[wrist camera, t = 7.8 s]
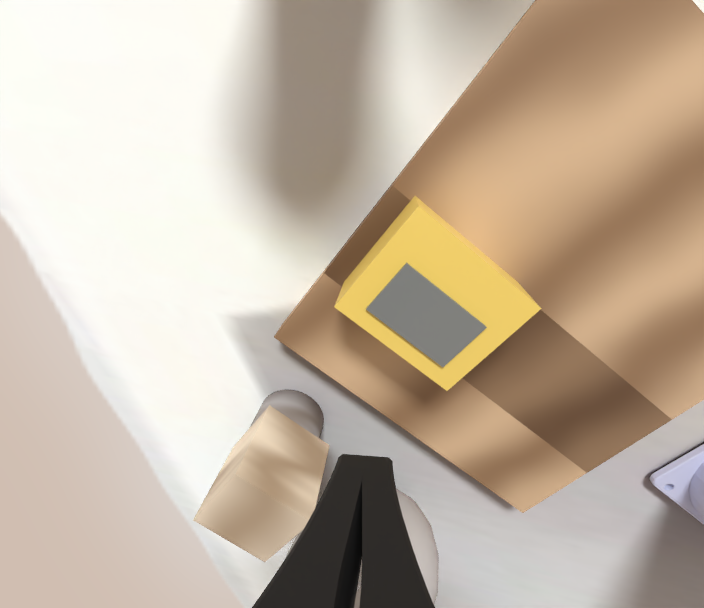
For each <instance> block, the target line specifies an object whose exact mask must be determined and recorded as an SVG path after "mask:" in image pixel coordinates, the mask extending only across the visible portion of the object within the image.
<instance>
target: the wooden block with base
mask: <svg viewBox="0 0 704 608" xmlns="http://www.w3.org/2000/svg"><path fill="white" fill-rule="evenodd" d="M323 422H324V417H323V413H322V410H321V408H320V406H319V405H318V404H317V402H316V401H315V400H313V399H312V398H311V397H309V396H308V395H306V394H304V393H302V392H299V391H295V390H280V391H276V392H274V393H272V394H270V395H269V396H268V397H267V398H266V399H265V400H264V402H263V403H262V405H261V407H260V409H259V411H258V413H257V415H256V417H255V419H254V421H253V422H252V424H251V426H250V428H249V429H248V431H247V432H246V433H245V434H244V435H243V436H242V437H241V439H240V440H239V441H238V442H237V443H236V444H235V446H234V447H233V448H232V450H231V452H230V454H229V456H228V457H227V459H226V461H225V463H224V465H223V467H222V468H221V470H220V472H219V474H218V476H217V478H216V479H215V481H214V483H213V485H212V487H211V488H210V490H209V492H208V494H207V496H206V498H205V499H204V501H203V503H202V505H201V507H200V508H199V510H198V512H197V514H196V516H195V518H194V519H193V520H194V521H196V522H197V523H199V524H201V525H202V526H204V527H206V528H207V529H209V530H211V531H213V532H214V533H216V534H218V535H219V536H221V537H223V538H225V539H226V540H228V541H230V542H231V543H233V544H235V545H236V546H238V547H240V548H242V549H243V550H245V551H247V552H248V553H250V554H252V555H253V556H255V557H257V558H259V559H260V560H262V561H264V562H266V561H267V560H268V559H269V558H270V557H272V556H273V555H274V554H275V553H276V552H277V551H279V550H280V549H281V548H282V547H283V546H284V545H286V544H287V543H288V542H289V541H290V540H292V539H293V538H294V537H295V536H296V535H297V534H299V533H300V532H301V531H302V530H303V529H304V528H305V526H306V524H307V522H308V521H309V519H310V517H311V515H312V513H313V512H314V510H315V507H316V503H317V498H318V494H319V489H320V485H321V481H322V476H323V472H324V467H325V463H326V459H327V454H328V450H329V446H330V445H328V444H327V443H325V442H324V441H322V440H321V439H319V438H320V434H321V430H322V427H323Z"/></svg>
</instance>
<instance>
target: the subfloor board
mask: <svg viewBox="0 0 704 608" xmlns="http://www.w3.org/2000/svg"><path fill="white" fill-rule="evenodd" d="M414 196H416V197H417V198H418V199H420V200H421V201H422V202H423V203H424V204H426V205H427V206H428V207H429V208H430V209H432V210H433V211H434V212H435V213H436V214H437V215H439V216H440V217H441V218H442V219H443V220H445V221H446V222H447V223H448V224H449V225H451V226H452V227H453V228H454V229H455V230H456V231H458V232H459V233H460V234H461V235H462V236H464V237H465V238H466V239H467V240H468V241H470V242H471V243H472V244H473V245H474V246H475V247H477V248H478V249H479V250H480V251H481V252H483V253H484V254H485V255H486V256H487V257H489V258H490V259H491V260H492V261H493V262H494V263H496V264H497V265H498V266H499V267H500V268H502V269H503V270H504V271H505V272H506V273H508V274H509V275H510V276H511V277H512V278H513V279H515V280H516V281H517V282H518V283H519V284H520V285H521V286H522V287H523V289H524V290H525V291H526V292H527V293H528V294H529V295H530V296H531V297H532V299H533V300H534V301H535V302H536V303H537V304H538V305H539V306H540V307H541V309H540V310H539V311H538V312H537V313H536V314H535V315H534V316H532V317H531V318H530V319H529V320H528V321H527V322H526V323H524V324H523V325H522V326H521V327H520V328H519V329H518V330H516V331H515V332H514V333H513V334H512V335H511V336H510V337H508V338H507V339H506V340H505V341H504V342H503V343H502V344H500V345H499V346H498V347H497V348H496V349H495V350H494V351H492V352H491V353H490V354H489V355H488V356H487V357H486V358H484V359H483V360H482V361H481V362H480V363H479V364H478V365H476V366H475V367H474V368H473V369H472V370H471V371H470V372H468V373H467V374H466V375H465V376H464V377H463V378H462V379H460V380H459V381H458V382H457V383H456V384H455V385H454V386H452V387H451V388H450V389H449V390H448V391H446V390H445V389H444V388H442V387H441V386H439V385H438V384H437V383H435V382H434V381H433V380H431V379H430V378H429V377H427V376H426V375H425V374H423V373H422V372H421V371H419V370H418V369H417V368H415V367H414V366H413V365H411V364H410V363H409V362H407V361H406V360H405V359H403V358H402V357H401V356H399V355H398V354H397V353H395V352H394V351H393V350H391V349H390V348H388V347H387V346H386V345H384V344H383V343H382V342H380V341H379V340H378V339H376V338H375V337H374V336H372V335H371V334H370V333H368V332H367V331H366V330H364V329H363V328H362V327H360V326H359V325H358V324H356V323H355V322H354V321H352V320H351V319H350V318H348V317H347V316H346V315H344V314H343V313H342V312H340V311H339V310H337V309H336V308H335V307H334V306H335V303H336V301H337V298H338V296H339V293H340V291H341V288H342V286H343V283H344V281H345V280H346V279H347V278H348V276H349V275H350V274H351V273H352V272H353V270H354V269H355V268H356V267H357V265H358V264H359V263H360V262H361V261H362V259H363V258H364V257H365V256H366V254H367V253H368V252H369V251H370V250H371V248H372V247H373V246H374V245H375V244H376V242H377V241H378V240H379V239H380V237H381V236H382V235H383V234H384V233H385V231H386V230H387V229H388V228H389V227H390V225H391V224H392V223H393V222H394V220H395V219H396V218H397V217H398V216H399V214H400V213H401V212H402V211H403V209H404V208H405V207H406V206H407V205H408V203H409V202H410V201H411V200H412V199H413V197H414ZM274 338H276V339H277V340H279V341H280V342H281V343H283V344H284V345H286V346H287V347H289V348H290V349H291V350H293V351H294V352H296V353H297V354H298V355H300V356H301V357H303V358H304V359H306V360H307V361H308V362H310V363H311V364H313V365H314V366H315V367H317V368H318V369H320V370H321V371H323V372H324V373H325V374H327V375H328V376H330V377H331V378H332V379H334V380H335V381H337V382H338V383H340V384H341V385H342V386H344V387H345V388H347V389H348V390H349V391H351V392H352V393H354V394H355V395H357V396H358V397H359V398H361V399H362V400H364V401H365V402H366V403H368V404H369V405H371V406H372V407H374V408H375V409H376V410H378V411H379V412H381V413H382V414H383V415H385V416H386V417H388V418H389V419H390V420H392V421H393V422H395V423H396V424H398V425H399V426H400V427H402V428H403V429H405V430H406V431H407V432H409V433H410V434H412V435H413V436H415V437H416V438H417V439H419V440H420V441H422V442H423V443H424V444H426V445H427V446H429V447H430V448H432V449H433V450H434V451H436V452H437V453H439V454H440V455H441V456H443V457H444V458H446V459H447V460H449V461H450V462H451V463H453V464H454V465H456V466H457V467H458V468H460V469H461V470H463V471H464V472H466V473H467V474H468V475H470V476H471V477H473V478H474V479H475V480H477V481H478V482H480V483H481V484H483V485H484V486H485V487H487V488H488V489H490V490H491V491H492V492H494V493H495V494H497V495H498V496H500V497H501V498H502V499H504V500H505V501H507V502H508V503H509V504H511V505H512V506H514V507H515V508H516V509H518V510H519V511H521V512H522V513H524V512H525V511H527V510H528V509H530V508H532V507H533V506H535V505H536V504H538V503H540V502H541V501H543V500H544V499H546V498H548V497H549V496H551V495H552V494H554V493H556V492H557V491H559V490H560V489H562V488H563V487H565V486H567V485H568V484H570V483H571V482H573V481H575V480H576V479H578V478H579V477H581V476H583V475H584V474H586V473H587V472H589V471H591V470H592V469H594V468H595V467H597V466H599V465H600V464H602V463H603V462H605V461H607V460H608V459H610V458H611V457H613V456H615V455H616V454H618V453H619V452H621V451H623V450H624V449H626V448H627V447H629V446H631V445H632V444H634V443H635V442H637V441H639V440H640V439H642V438H643V437H645V436H647V435H648V434H650V433H651V432H653V431H654V430H656V429H658V428H659V427H661V426H662V425H664V424H666V423H667V422H669V421H670V420H672V419H674V418H675V417H677V416H678V415H680V414H682V413H683V412H685V411H686V410H688V409H690V408H691V407H693V406H694V405H696V404H698V403H699V402H701V401H702V400H704V13H703V12H702V11H701V10H700V9H699V8H698V7H697V5H696V4H695V3H694V2H693V1H692V0H535V1H534V3H533V4H532V5H531V7H530V8H529V9H528V10H527V12H526V13H525V14H524V16H523V17H522V18H521V19H520V21H519V22H518V23H517V24H516V26H515V27H514V28H513V30H512V31H511V32H510V33H509V35H508V36H507V37H506V39H505V40H504V41H503V42H502V44H501V45H500V46H499V48H498V49H497V50H496V51H495V53H494V54H493V55H492V56H491V58H490V59H489V60H488V62H487V63H486V64H485V65H484V67H483V68H482V69H481V71H480V72H479V73H478V74H477V76H476V77H475V78H474V80H473V81H472V82H471V83H470V85H469V86H468V87H467V88H466V90H465V91H464V92H463V94H462V95H461V96H460V97H459V99H458V100H457V101H456V103H455V104H454V105H453V106H452V108H451V109H450V110H449V111H448V113H447V114H446V115H445V117H444V118H443V119H442V120H441V122H440V123H439V124H438V126H437V127H436V128H435V129H434V131H433V132H432V133H431V135H430V136H429V137H428V138H427V140H426V141H425V142H424V143H423V145H422V146H421V147H420V149H419V150H418V151H417V152H416V154H415V155H414V156H413V158H412V159H411V160H410V161H409V163H408V164H407V165H406V167H405V168H404V169H403V170H402V172H401V173H400V174H399V175H398V177H397V178H396V179H395V181H394V182H393V183H392V184H391V186H390V187H389V188H388V190H387V191H386V192H385V193H384V195H383V196H382V197H381V198H380V200H379V201H378V202H377V204H376V205H375V206H374V207H373V209H372V210H371V211H370V213H369V214H368V215H367V216H366V218H365V219H364V220H363V222H362V223H361V224H360V225H359V227H358V228H357V229H356V230H355V232H354V233H353V234H352V236H351V237H350V238H349V239H348V241H347V242H346V243H345V245H344V246H343V247H342V248H341V250H340V251H339V252H338V254H337V255H336V256H335V257H334V259H333V260H332V261H331V262H330V264H329V265H328V266H327V268H326V269H325V270H324V271H323V273H322V274H321V275H320V277H319V278H318V279H317V280H316V282H315V283H314V284H313V285H312V287H311V288H310V289H309V291H308V292H307V293H306V294H305V296H304V297H303V298H302V300H301V301H300V302H299V303H298V305H297V306H296V307H295V309H294V310H293V311H292V312H291V314H290V315H289V316H288V317H287V319H286V320H285V321H284V323H283V324H282V325H281V327H280V328H279V330H278V331H277V333H276V335H275V336H274Z"/></svg>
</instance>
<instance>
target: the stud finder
mask: <svg viewBox="0 0 704 608" xmlns="http://www.w3.org/2000/svg"><path fill="white" fill-rule="evenodd" d="M334 307H335V308H336V309H337V310H339V311H340V312H342V313H343V314H344V315H346V316H347V317H348V318H350V319H351V320H352V321H354V322H355V323H356V324H358V325H359V326H360V327H362V328H363V329H364V330H366V331H367V332H368V333H370V334H371V335H372V336H374V337H375V338H376V339H378V340H379V341H380V342H382V343H383V344H384V345H386V346H387V347H388V348H390V349H391V350H393V351H394V352H395V353H397V354H398V355H399V356H401V357H402V358H403V359H405V360H406V361H407V362H409V363H410V364H411V365H413V366H414V367H415V368H417V369H418V370H419V371H421V372H422V373H423V374H425V375H426V376H427V377H429V378H430V379H431V380H433V381H434V382H435V383H437V384H438V385H439V386H441V387H442V388H444V389H445V390H446V391H448V390H449V389H450V388H451V387H452V386H454V385H455V384H456V383H457V382H458V381H459V380H460V379H462V378H463V377H464V376H465V375H466V374H467V373H468V372H470V371H471V370H472V369H473V368H474V367H475V366H476V365H478V364H479V363H480V362H481V361H482V360H483V359H484V358H486V357H487V356H488V355H489V354H490V353H491V352H492V351H494V350H495V349H496V348H497V347H498V346H499V345H500V344H502V343H503V342H504V341H505V340H506V339H507V338H508V337H510V336H511V335H512V334H513V333H514V332H515V331H516V330H518V329H519V328H520V327H521V326H522V325H523V324H524V323H526V322H527V321H528V320H529V319H530V318H531V317H532V316H534V315H535V314H536V313H537V312H538V311H539V310H540V309H541V307H540V306H539V305H538V304H537V303H536V302H535V301H534V300H533V299H532V297H531V296H530V295H529V294H528V293H527V292H526V291H525V290H524V289H523V287H522V286H521V285H520V284H519V283H518V282H517V281H516V280H515V279H513V278H512V277H511V276H510V275H509V274H508V273H506V272H505V271H504V270H503V269H502V268H500V267H499V266H498V265H497V264H496V263H494V262H493V261H492V260H491V259H490V258H489V257H487V256H486V255H485V254H484V253H483V252H481V251H480V250H479V249H478V248H477V247H475V246H474V245H473V244H472V243H471V242H470V241H468V240H467V239H466V238H465V237H464V236H462V235H461V234H460V233H459V232H458V231H456V230H455V229H454V228H453V227H452V226H451V225H449V224H448V223H447V222H446V221H445V220H443V219H442V218H441V217H440V216H439V215H437V214H436V213H435V212H434V211H433V210H432V209H430V208H429V207H428V206H427V205H426V204H424V203H423V202H422V201H421V200H420V199H418V198H417V197H416V196H414V197H413V199H412V200H411V201H410V202H409V203H408V205H407V206H406V207H405V208H404V209H403V211H402V212H401V213H400V214H399V216H398V217H397V218H396V219H395V220H394V222H393V223H392V224H391V225H390V227H389V228H388V229H387V230H386V231H385V233H384V234H383V235H382V236H381V237H380V239H379V240H378V241H377V242H376V244H375V245H374V246H373V247H372V248H371V250H370V251H369V252H368V253H367V254H366V256H365V257H364V258H363V259H362V261H361V262H360V263H359V264H358V265H357V267H356V268H355V269H354V270H353V272H352V273H351V274H350V275H349V276H348V278H347V279H346V280H345V281H344V283H343V286H342V288H341V291H340V293H339V296H338V298H337V301H336V303H335V306H334Z"/></svg>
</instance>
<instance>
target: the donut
mask: <svg viewBox="0 0 704 608" xmlns="http://www.w3.org/2000/svg"><path fill="white" fill-rule="evenodd" d="M396 491H397V496H398V500H399V504H400V508H401V512H402V515H403V519H404V522H405V525H406V529H407V532H408V535H409V538H410V541H411V545H412V548H413V551H414V553H415V556H416V559H417V562H418V565H419V568H420V570H421V573H422V576H423V578H424V581H425V584H426V586H427V589H428V592H429V594H430V597H431V599H432V602H433V604H435V600H436V597H437V593H438V561H439V560H438V551H437V547H436V543H435V539H434V535H433V532H432V528H431V525H430V523H429V521H428V520H427V518H426V517H425V515H424V514H423V512H422V511H421V509H420V508H419V507H418V505H417V504H416V502H415V501H414V500H413V499H411V498H410V497H409V496H407V495H405V494H404V493H402V492H401V491H399V490H397V489H396ZM303 530H304V529H303ZM303 530H302V531H303ZM302 531H301V532H300V533H299V534H298V536H297V537H296V539H295V541H294V543H293V544H292V546H291V548H290V550H289V551H288V553H287V556H288V554H289V552H290V551H291V549H292V547H293V546H294V544H295V543H296V541H297V539H298V538H299V536H300V535H301V533H302ZM287 556H286V557H287ZM360 595H361V587H360V589H359V590H358V591H357V592H356V598H355V605H354V608H359V606H360Z"/></svg>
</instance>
